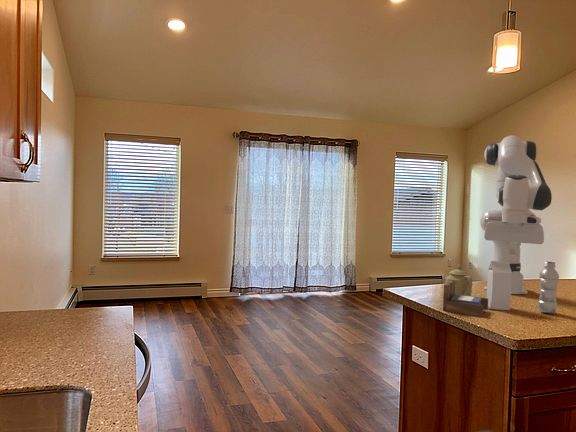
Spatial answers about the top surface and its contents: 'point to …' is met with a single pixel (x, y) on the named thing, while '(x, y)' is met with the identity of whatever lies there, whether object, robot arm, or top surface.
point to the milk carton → (499, 285)
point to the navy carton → (466, 299)
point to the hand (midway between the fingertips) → (512, 254)
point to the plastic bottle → (548, 288)
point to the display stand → (460, 306)
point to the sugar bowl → (460, 281)
